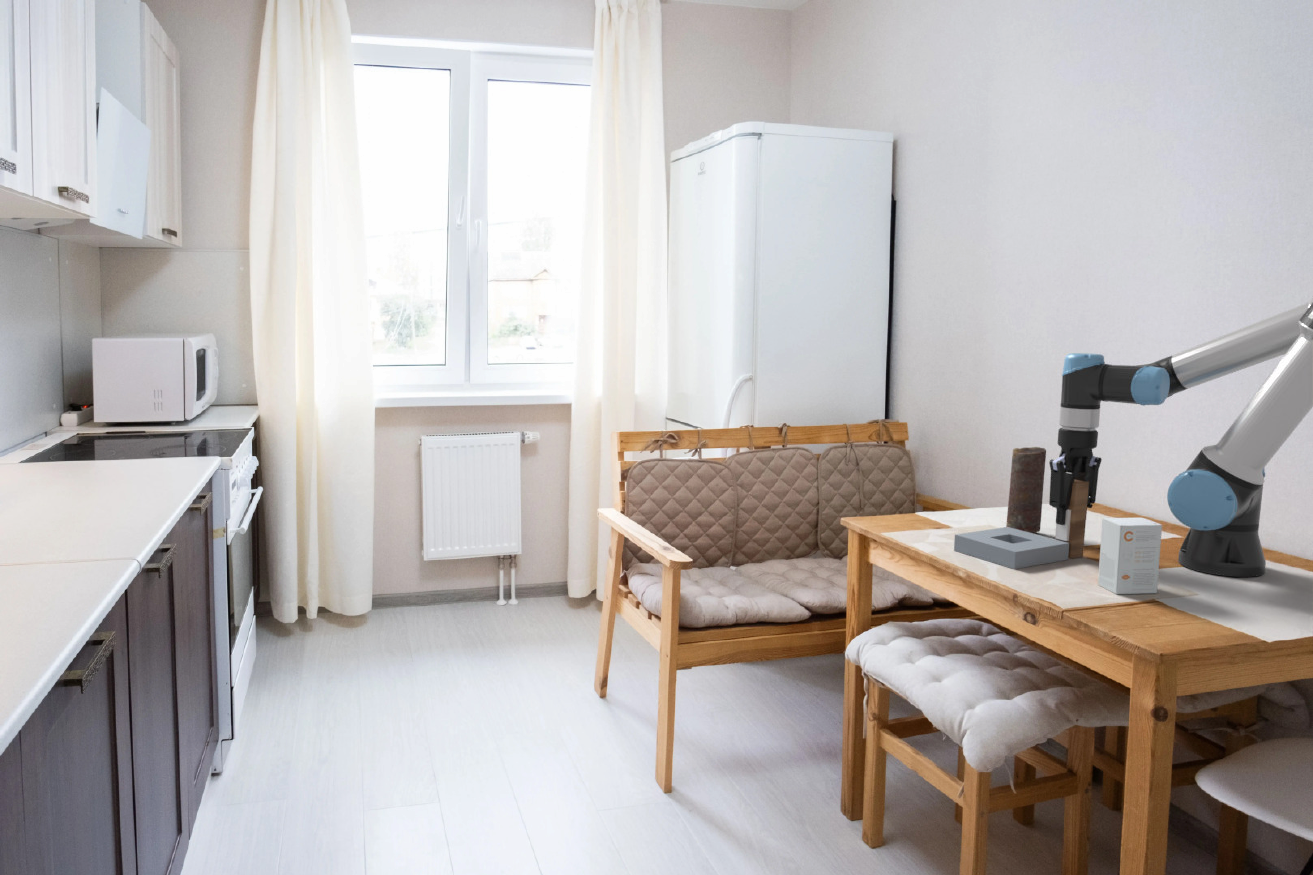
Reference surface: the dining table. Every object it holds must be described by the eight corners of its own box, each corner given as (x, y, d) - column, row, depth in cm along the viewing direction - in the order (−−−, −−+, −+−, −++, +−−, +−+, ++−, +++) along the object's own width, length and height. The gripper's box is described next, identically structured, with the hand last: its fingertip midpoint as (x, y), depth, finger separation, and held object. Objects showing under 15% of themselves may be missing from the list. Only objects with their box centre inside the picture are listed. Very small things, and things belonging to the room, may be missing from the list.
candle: (1045, 537, 214) (1051, 450, 211) (1012, 537, 214) (1018, 450, 211) (1032, 529, 221) (1038, 445, 219) (1001, 529, 222) (1006, 445, 219)
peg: (1082, 556, 198) (1088, 481, 196) (1070, 558, 196) (1076, 483, 194) (1066, 552, 201) (1072, 478, 199) (1053, 554, 199) (1059, 479, 197)
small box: (1136, 583, 179) (1142, 516, 177) (1157, 594, 172) (1163, 524, 171) (1096, 584, 178) (1101, 517, 176) (1115, 595, 172) (1121, 525, 170)
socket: (1068, 559, 196) (1069, 543, 195) (1014, 569, 188) (1015, 552, 187) (1006, 542, 209) (1007, 526, 209) (953, 550, 202) (954, 534, 201)
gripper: (1089, 424, 202) (1081, 530, 205) (1035, 427, 194) (1026, 538, 197) (1121, 428, 196) (1112, 538, 199) (1066, 432, 188) (1057, 546, 191)
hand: (1069, 538), depth 198 cm, fingers closed on peg, 4 cm apart
